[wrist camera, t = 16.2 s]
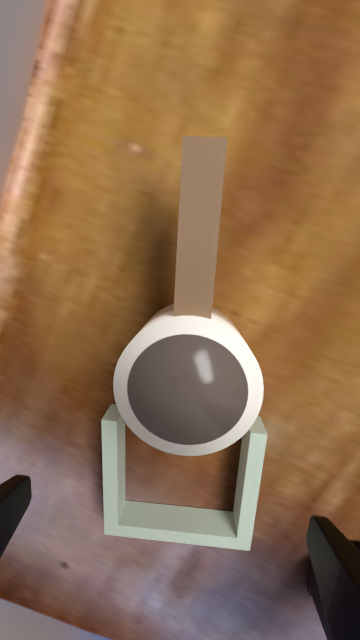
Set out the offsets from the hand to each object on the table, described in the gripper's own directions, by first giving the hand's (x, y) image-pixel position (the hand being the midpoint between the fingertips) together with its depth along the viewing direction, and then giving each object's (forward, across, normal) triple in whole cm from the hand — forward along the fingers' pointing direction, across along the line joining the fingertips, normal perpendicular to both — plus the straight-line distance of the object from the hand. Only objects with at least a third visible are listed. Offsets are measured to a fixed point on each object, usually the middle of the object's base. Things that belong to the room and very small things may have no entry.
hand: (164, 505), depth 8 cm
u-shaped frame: (+12, 0, +9) cm, 15 cm away
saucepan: (+12, 0, -5) cm, 13 cm away
